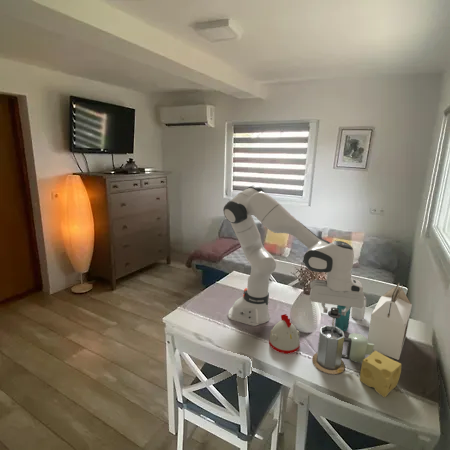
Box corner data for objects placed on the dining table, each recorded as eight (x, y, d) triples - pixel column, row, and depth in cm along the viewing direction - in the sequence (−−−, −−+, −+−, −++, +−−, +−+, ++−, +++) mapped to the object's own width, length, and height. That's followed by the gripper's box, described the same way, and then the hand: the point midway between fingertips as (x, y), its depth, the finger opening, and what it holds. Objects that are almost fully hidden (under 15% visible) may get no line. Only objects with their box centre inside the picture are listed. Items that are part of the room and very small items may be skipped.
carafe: (312, 370, 119) (316, 338, 115) (311, 350, 131) (315, 320, 127) (349, 378, 115) (354, 345, 112) (345, 356, 128) (349, 326, 124)
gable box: (398, 360, 126) (409, 302, 119) (365, 348, 134) (374, 292, 127) (405, 336, 143) (416, 284, 136) (376, 326, 151) (384, 276, 144)
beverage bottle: (349, 334, 143) (354, 297, 138) (335, 332, 144) (339, 296, 139) (346, 327, 149) (351, 291, 144) (333, 325, 151) (337, 290, 146)
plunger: (322, 340, 118) (326, 312, 115) (321, 330, 125) (324, 303, 121) (341, 344, 116) (345, 315, 113) (339, 333, 123) (343, 306, 120)
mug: (347, 360, 125) (350, 342, 123) (345, 349, 133) (347, 331, 130) (372, 365, 123) (376, 346, 121) (369, 353, 130) (372, 335, 128)
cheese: (385, 398, 106) (389, 375, 104) (357, 380, 115) (360, 358, 112) (398, 385, 112) (402, 363, 110) (371, 369, 121) (374, 348, 118)
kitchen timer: (277, 356, 127) (279, 326, 124) (264, 337, 140) (265, 309, 136) (305, 350, 131) (308, 321, 127) (290, 332, 144) (292, 305, 140)
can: (351, 319, 156) (354, 299, 153) (350, 313, 162) (353, 293, 159) (364, 321, 154) (367, 301, 151) (363, 315, 160) (366, 295, 157)
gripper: (310, 282, 114) (307, 313, 117) (367, 289, 109) (362, 321, 112) (310, 275, 120) (307, 305, 123) (364, 282, 115) (359, 313, 118)
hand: (334, 313), depth 118 cm, fingers open, 5 cm apart
